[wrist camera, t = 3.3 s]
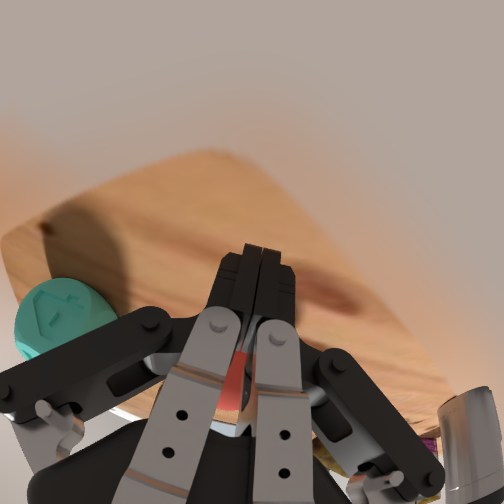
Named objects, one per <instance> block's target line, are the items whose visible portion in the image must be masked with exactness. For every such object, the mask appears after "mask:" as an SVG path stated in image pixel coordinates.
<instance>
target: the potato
mask: <svg viewBox="0 0 504 504" xmlns="http://www.w3.org/2000/svg"><path fill="white" fill-rule="evenodd" d="M312 454H313V455H314V456H316V457H317V458H318V459H319V460H320V461H321V463H322V464H323V465H324V466H326V467H327V468H328V469H330V470H332V471H334V472H336V473H338V474H340V475H341V476H344V477H346V478H349V476H348V475H347V474H346V473H345V471H344V470H343V469H342V468H341V466H340V465H339V464H338V463H337V461H336V460H335V459H334V458H333V456H332V455H331V454H330V452H329V451H328V450H327V449H326V447H325V446H324V445H323V443H322V442H321V441H320V439H319V438H318V437H315V438H314V439H313V440H312Z"/></svg>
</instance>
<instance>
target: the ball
mask: <svg viewBox="0 0 504 504" xmlns="http://www.w3.org/2000/svg"><path fill="white" fill-rule="evenodd" d="M242 343H243V341H242ZM241 348H242V344H241V347H240V350H239V351H235V355H234V358H233V361H232V364H231V366H230V367H229V368H228V371H227V375H226V378H225V381H224V385H223V388H222V391H221V394H220V398H219V401H218V404H217V407H216V408H218V409H221V410H228V411H233V410H239V405H240V393H241V381H242V371H243V367H244V365H245V362H246V356H247V353H244V352H241Z"/></svg>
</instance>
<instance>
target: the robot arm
mask: <svg viewBox="0 0 504 504" xmlns="http://www.w3.org/2000/svg"><path fill="white" fill-rule="evenodd" d="M261 253H262V254H261ZM280 262H281V252H280V251H276V250H272V249H268V248H263V251H262V247H259V246H255V245H251V244H247V243H245V246H244V250H243V254H242V255H240V254H235V253H231V252H229V253H228V254H227V255H226V256H225V257H223V258H222V260H221V263H220V266H219V269H218V272H217V275H216V278H215V281H214V284H213V287H212V290H211V293H210V296H209V299H208V302H207V305H206V307H205V308H204V310H203V311H202V312H201V313H199V314H198V315H196V316H193V317H189V318H171V317H170V316H169V314H168V313H167V312H166V311H165V310H163V309H161V308H159V307H155V306H146V307H142V308H139V309H137V310H135V311H133V312H131V313H129V314H127V315H124V316H122V317H120V318H118V319H116V320H114V321H112V322H109V323H107V324H105V325H103V326H101V327H99V328H96V329H94V330H92V331H90V332H88V333H86V334H84V335H81V336H79V337H77V338H75V339H73V340H71V341H68V342H66V343H64V344H62V345H60V346H58V347H55V348H53V349H51V350H49V351H47V352H45V353H42V354H40V355H38V356H36V357H34V358H32V359H29V360H27V361H25V362H23V363H21V364H18V365H16V366H14V367H12V368H10V369H8V370H5V371H3V372H1V373H0V413H1V414H2V415H4V416H5V417H7V418H8V419H9V420H10V422H11V424H12V426H13V429H14V432H15V434H16V436H17V439H18V441H19V444H20V446H21V448H22V451H23V453H24V455H25V457H26V459H27V461H28V463H29V465H30V467H31V469H32V471H33V473H34V476H33V477H32V478H31V480H30V482H29V485H28V489H27V500H28V504H412V503H413V502H415V501H418V500H422V499H426V498H430V497H433V496H435V495H437V494H438V493H439V492H440V491H441V489H442V488H443V486H444V483H445V487H446V488H445V490H446V504H501V503H502V502H503V501H504V465H503V456H502V448H501V440H502V436H501V430H500V425H499V420H498V415H497V411H496V407H495V403H494V399H493V395H492V391H491V390H489V387H487V386H482V387H478V388H475V389H472V390H470V391H467V392H465V393H463V394H461V395H459V396H457V397H455V398H453V399H452V400H450V401H448V402H447V403H445V404H444V405H443V406H442V407H441V408H439V410H438V418H439V425H440V432H441V440H442V448H443V458H444V468H443V466H442V465H441V463H440V462H439V461H438V460H437V458H436V457H435V456H434V455H433V453H432V452H431V451H430V450H429V449H428V447H427V446H426V445H425V444H424V442H423V441H422V440H421V439H420V438H419V436H418V435H417V434H416V433H415V431H414V430H413V429H412V428H411V427H410V425H409V424H408V423H407V422H406V421H405V419H404V418H403V417H402V416H401V414H400V413H399V412H398V411H397V410H396V408H395V407H394V406H393V405H392V404H391V402H390V401H389V400H388V399H387V398H386V396H385V395H384V394H383V393H382V392H381V390H380V389H379V388H378V387H377V386H376V384H375V383H374V382H373V381H372V380H371V378H370V377H369V376H368V375H367V374H366V372H365V371H364V370H363V369H362V368H361V366H360V365H359V364H358V363H357V362H356V361H355V359H354V358H353V357H352V356H351V355H350V354H349V353H348V352H346V351H345V350H342V349H339V348H330V349H327V350H325V351H324V352H321V351H319V350H317V349H315V348H313V347H311V346H309V345H307V344H306V343H304V342H303V341H302V340H301V339H300V338H299V336H298V333H297V331H296V330H295V274H294V272H293V270H292V268H291V267H290V266H286V265H282V264H280ZM242 341H243V343H242ZM241 344H242V348H241V352H244V353H247V356H246V362H245V365H244V367H243V371H242V381H241V393H240V405H239V415H238V420H237V424H236V430H235V437H229V436H226V435H224V434H221V433H219V432H217V431H215V430H213V429H211V428H210V427H211V423H212V420H213V417H214V414H215V410H216V407H217V404H218V401H219V398H220V394H221V391H222V388H223V385H224V381H225V378H226V375H227V371H228V368H229V367H230V366H231V364H232V361H233V358H234V355H235V351H239V350H240V347H241ZM165 378H166V380H165V382H164V384H163V387H162V389H161V391H160V394H159V396H158V398H157V401H156V403H155V405H154V408H153V410H152V412H151V415H150V417H149V418H147V419H141V420H137V421H134V422H131V423H129V424H127V425H125V426H123V427H121V428H120V429H118V430H116V431H114V432H113V433H111V434H109V435H107V436H106V437H104V438H103V439H100V440H99V441H97V442H95V443H93V444H91V445H90V446H88V447H86V448H84V449H82V450H80V451H78V452H76V453H74V454H73V455H70V456H69V454H70V451H71V450H72V448H73V447H74V446H75V445H76V444H78V443H79V442H80V441H81V440H82V438H83V436H84V432H85V427H84V422H85V421H88V420H90V419H92V418H94V417H95V416H98V415H99V414H101V413H103V412H105V411H107V410H109V409H111V408H113V407H115V406H117V405H119V404H121V403H123V402H124V401H126V400H128V399H130V398H132V397H134V396H135V395H137V394H139V393H141V392H143V391H144V390H146V389H148V388H150V387H152V386H153V385H155V384H157V383H159V382H160V381H162V380H164V379H165ZM312 430H313V432H314V433H315V434H316V436H317V437H318V438H319V439H320V441H321V442H322V443H323V445H324V446H325V447H326V449H327V450H328V451H329V452H330V454H331V455H332V456H333V458H334V459H335V460H336V461H337V463H338V464H339V465H340V466H341V468H342V469H343V470H344V471H345V473H346V474H347V475H348V476H349V478H350V479H349V481H348V484H347V487H346V493H347V494H348V496H349V498H350V499H351V501H352V503H351V501H350V500H349V499H348V498H347V496H346V495H345V494H344V492H343V491H342V490H341V488H340V487H339V486H338V484H337V483H336V482H335V480H334V479H333V477H332V476H331V475H330V473H329V472H328V471H327V469H326V468H325V466H324V465H323V464H322V463H321V461H320V460H319V459H318V458H317V457H316V456H314V455H313V454H312Z"/></svg>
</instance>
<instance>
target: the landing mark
mask: <svg viewBox="0 0 504 504" xmlns="http://www.w3.org/2000/svg"><path fill="white" fill-rule="evenodd" d="M210 428H211V429H213V430H215V431H217V432H219V433H221V434H224V435H226V436H229V437H235V430H236V425H234V424H229V423H224V422H220V421H216V420H212V423H211V427H210Z"/></svg>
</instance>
